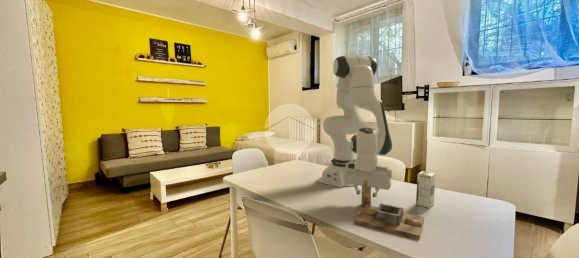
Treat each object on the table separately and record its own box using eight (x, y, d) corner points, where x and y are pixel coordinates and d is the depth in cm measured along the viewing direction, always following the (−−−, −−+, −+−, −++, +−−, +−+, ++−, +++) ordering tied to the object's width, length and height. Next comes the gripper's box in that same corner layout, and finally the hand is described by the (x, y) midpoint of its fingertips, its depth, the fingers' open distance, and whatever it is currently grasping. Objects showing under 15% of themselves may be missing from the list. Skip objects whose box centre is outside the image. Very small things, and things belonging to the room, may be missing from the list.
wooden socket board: (354, 223, 93) (354, 210, 93) (366, 208, 107) (366, 197, 106) (419, 239, 81) (419, 225, 81) (423, 220, 95) (424, 208, 94)
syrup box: (420, 201, 113) (421, 170, 112) (434, 204, 109) (435, 172, 108) (415, 205, 109) (416, 173, 108) (430, 208, 105) (431, 175, 104)
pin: (360, 206, 109) (360, 179, 108) (363, 203, 112) (363, 177, 111) (369, 208, 107) (369, 181, 106) (371, 204, 110) (372, 178, 109)
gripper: (393, 166, 105) (392, 197, 106) (347, 161, 116) (347, 189, 117) (390, 169, 100) (389, 202, 101) (342, 163, 111) (342, 193, 112)
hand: (366, 195), depth 109 cm, fingers open, 6 cm apart
